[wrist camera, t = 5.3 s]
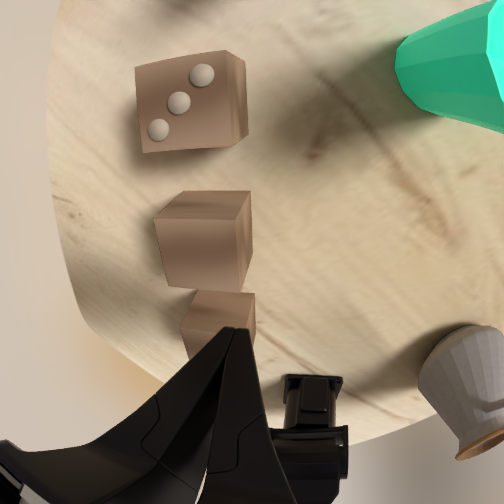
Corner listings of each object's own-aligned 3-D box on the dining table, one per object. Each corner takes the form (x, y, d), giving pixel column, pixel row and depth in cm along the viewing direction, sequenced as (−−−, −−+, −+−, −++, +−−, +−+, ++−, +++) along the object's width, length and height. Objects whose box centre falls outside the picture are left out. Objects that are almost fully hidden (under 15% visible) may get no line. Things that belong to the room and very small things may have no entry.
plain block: (253, 252, 22) (240, 292, 18) (192, 249, 23) (168, 286, 19) (250, 190, 20) (234, 220, 15) (183, 190, 20) (153, 218, 16)
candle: (380, 84, 14) (493, 78, 4) (409, 17, 11) (515, -39, 1) (451, 131, 14) (576, 193, 4) (477, 67, 11) (603, 79, 1)
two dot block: (255, 332, 27) (246, 375, 22) (204, 326, 27) (188, 366, 23) (254, 292, 24) (243, 337, 20) (197, 287, 25) (176, 328, 21)
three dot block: (248, 133, 17) (230, 147, 13) (176, 138, 18) (139, 154, 14) (245, 61, 15) (224, 49, 11) (171, 71, 16) (130, 67, 11)
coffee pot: (485, 362, 25) (513, 458, 12) (409, 387, 28) (422, 494, 16) (520, 213, 15) (620, 329, 3) (415, 241, 19) (495, 419, 6)
